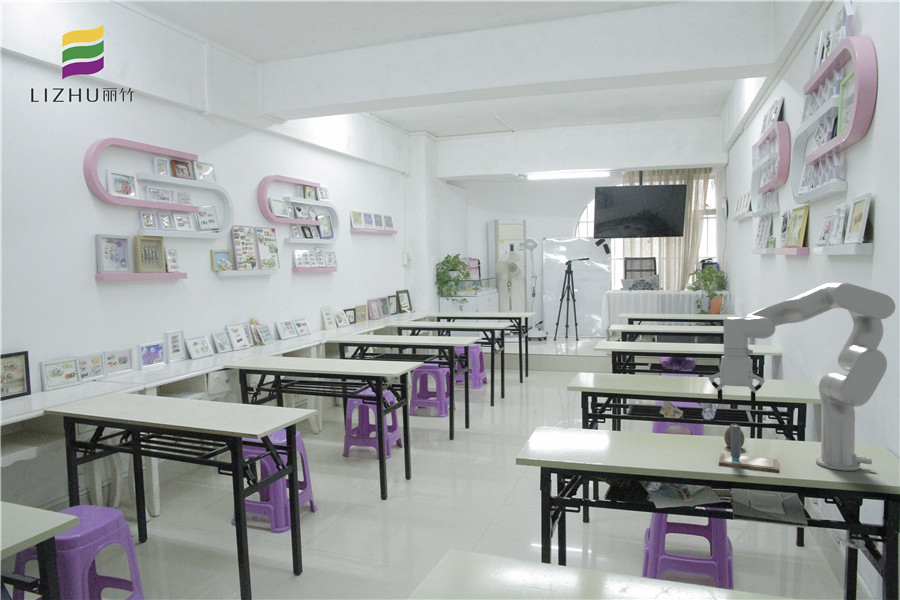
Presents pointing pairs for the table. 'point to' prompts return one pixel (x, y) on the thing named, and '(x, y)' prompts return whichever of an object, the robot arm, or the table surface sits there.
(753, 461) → the brown picture frame
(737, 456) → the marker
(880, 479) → the table surface
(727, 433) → the vase
